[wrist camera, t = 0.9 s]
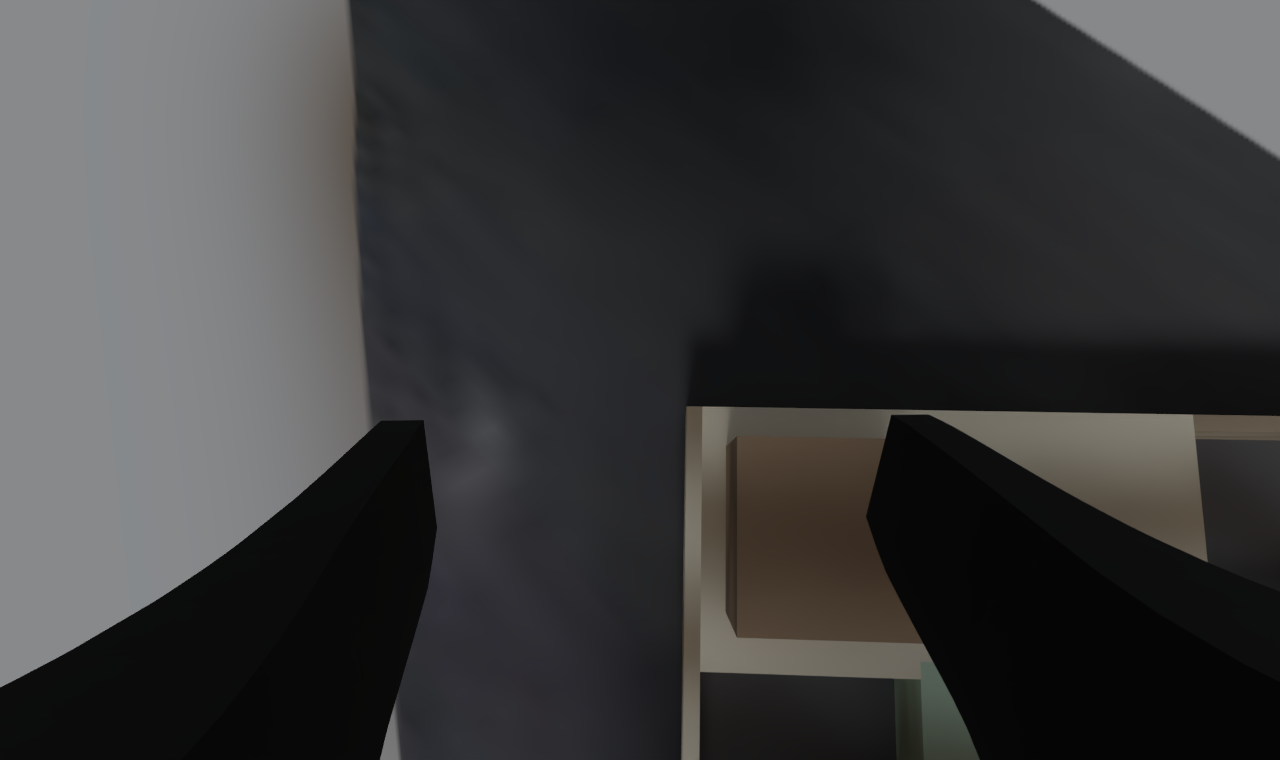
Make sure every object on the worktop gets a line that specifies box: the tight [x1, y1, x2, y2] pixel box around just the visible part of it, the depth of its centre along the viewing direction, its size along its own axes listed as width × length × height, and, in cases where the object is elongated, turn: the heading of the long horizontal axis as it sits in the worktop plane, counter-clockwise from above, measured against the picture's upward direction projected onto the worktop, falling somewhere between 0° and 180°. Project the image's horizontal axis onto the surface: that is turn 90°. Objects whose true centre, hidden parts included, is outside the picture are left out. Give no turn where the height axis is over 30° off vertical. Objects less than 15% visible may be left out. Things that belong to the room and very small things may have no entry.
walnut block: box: [725, 436, 923, 644], centre depth 20 cm, size 5×5×4 cm
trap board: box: [681, 406, 1280, 760], centre depth 22 cm, size 15×22×3 cm, turn 89°
